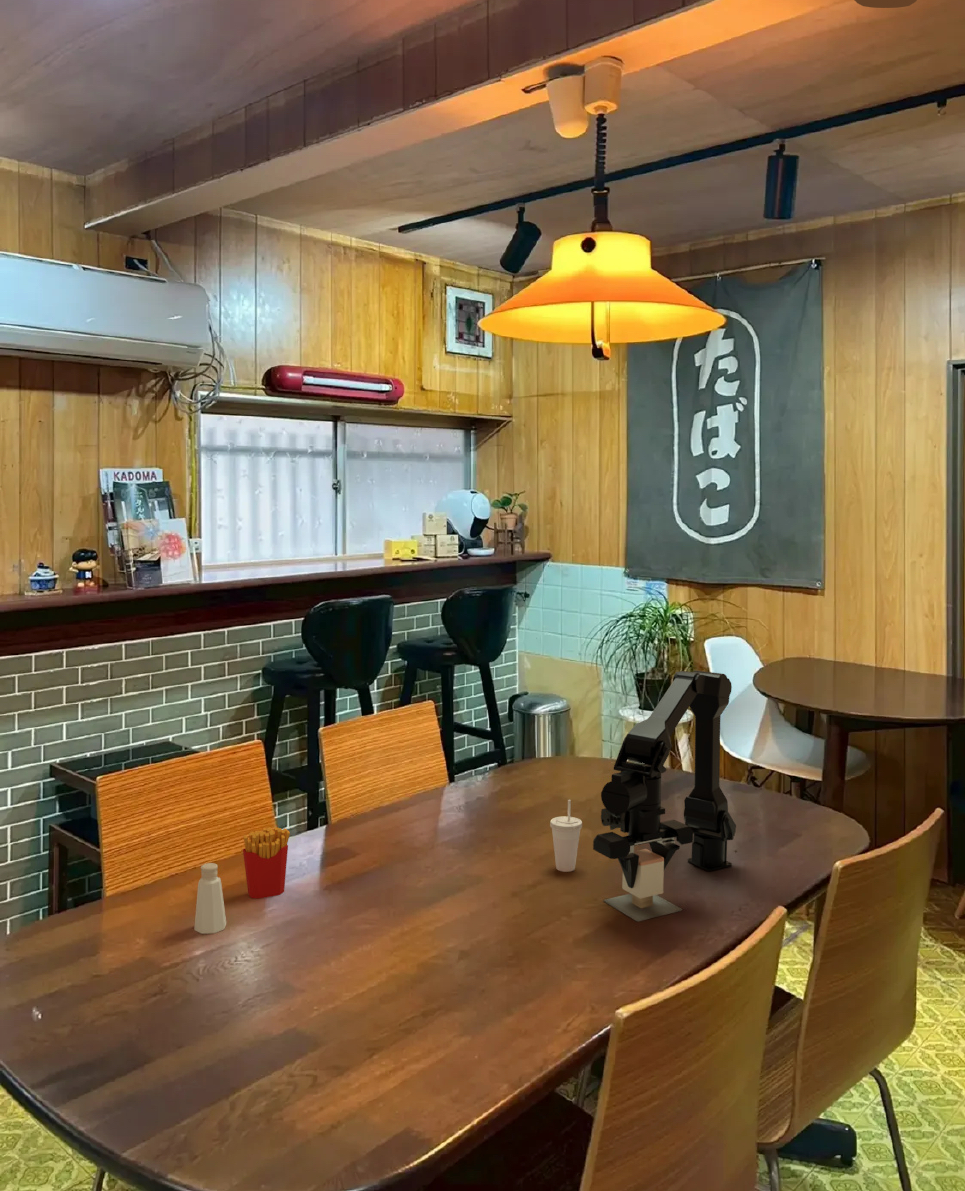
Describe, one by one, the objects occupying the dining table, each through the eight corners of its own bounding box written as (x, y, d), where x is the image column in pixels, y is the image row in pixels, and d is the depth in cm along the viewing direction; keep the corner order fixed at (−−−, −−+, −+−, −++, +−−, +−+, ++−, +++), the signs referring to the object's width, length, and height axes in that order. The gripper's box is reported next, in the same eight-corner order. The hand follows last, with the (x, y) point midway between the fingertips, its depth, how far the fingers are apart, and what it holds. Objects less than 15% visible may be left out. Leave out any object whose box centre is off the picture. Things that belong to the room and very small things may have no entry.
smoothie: (579, 875, 194) (580, 805, 193) (547, 872, 195) (548, 803, 194) (583, 863, 200) (584, 796, 199) (551, 861, 201) (552, 794, 200)
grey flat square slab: (646, 891, 186) (647, 855, 186) (681, 910, 178) (682, 872, 177) (603, 901, 181) (604, 864, 181) (637, 921, 173) (638, 882, 172)
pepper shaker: (197, 936, 166) (196, 873, 165) (191, 924, 171) (189, 862, 170) (230, 930, 168) (228, 867, 167) (222, 918, 173) (221, 857, 172)
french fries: (247, 900, 181) (246, 837, 180) (242, 893, 184) (240, 830, 183) (292, 892, 185) (291, 830, 184) (286, 885, 188) (285, 823, 187)
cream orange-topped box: (644, 883, 183) (645, 848, 182) (663, 893, 178) (663, 857, 178) (622, 888, 180) (623, 853, 180) (640, 898, 176) (640, 862, 175)
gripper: (656, 782, 189) (655, 861, 191) (576, 796, 180) (574, 878, 182) (696, 797, 180) (693, 880, 181) (612, 813, 170) (611, 900, 172)
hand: (642, 884), depth 179 cm, fingers closed on cream orange-topped box, 5 cm apart
